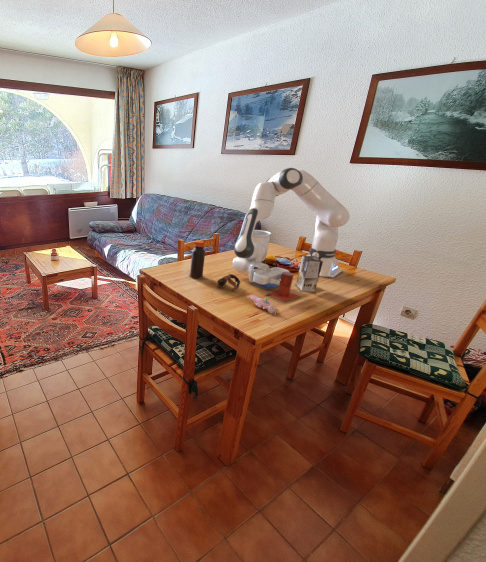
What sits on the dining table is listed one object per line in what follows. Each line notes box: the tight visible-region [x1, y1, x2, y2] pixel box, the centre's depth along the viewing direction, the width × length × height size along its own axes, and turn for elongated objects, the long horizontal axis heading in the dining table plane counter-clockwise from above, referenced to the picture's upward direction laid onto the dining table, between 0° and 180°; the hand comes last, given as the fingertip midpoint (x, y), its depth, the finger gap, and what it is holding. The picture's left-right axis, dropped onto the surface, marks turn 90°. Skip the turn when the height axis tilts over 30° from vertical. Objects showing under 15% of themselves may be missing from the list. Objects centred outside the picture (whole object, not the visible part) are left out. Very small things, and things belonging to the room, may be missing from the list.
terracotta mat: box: [268, 290, 299, 302], centre depth 149 cm, size 11×9×1 cm
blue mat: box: [251, 282, 280, 290], centre depth 161 cm, size 10×10×1 cm
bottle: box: [189, 240, 206, 279], centre depth 169 cm, size 7×7×20 cm
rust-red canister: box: [277, 271, 294, 297], centre depth 147 cm, size 5×5×11 cm
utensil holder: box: [252, 229, 272, 262], centre depth 198 cm, size 15×15×18 cm
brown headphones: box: [217, 273, 241, 292], centre depth 156 cm, size 12×10×8 cm
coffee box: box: [295, 255, 323, 292], centre depth 154 cm, size 9×6×16 cm
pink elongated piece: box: [247, 294, 281, 316], centre depth 136 cm, size 6×6×15 cm
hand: (286, 280), depth 147 cm, fingers open, 8 cm apart
